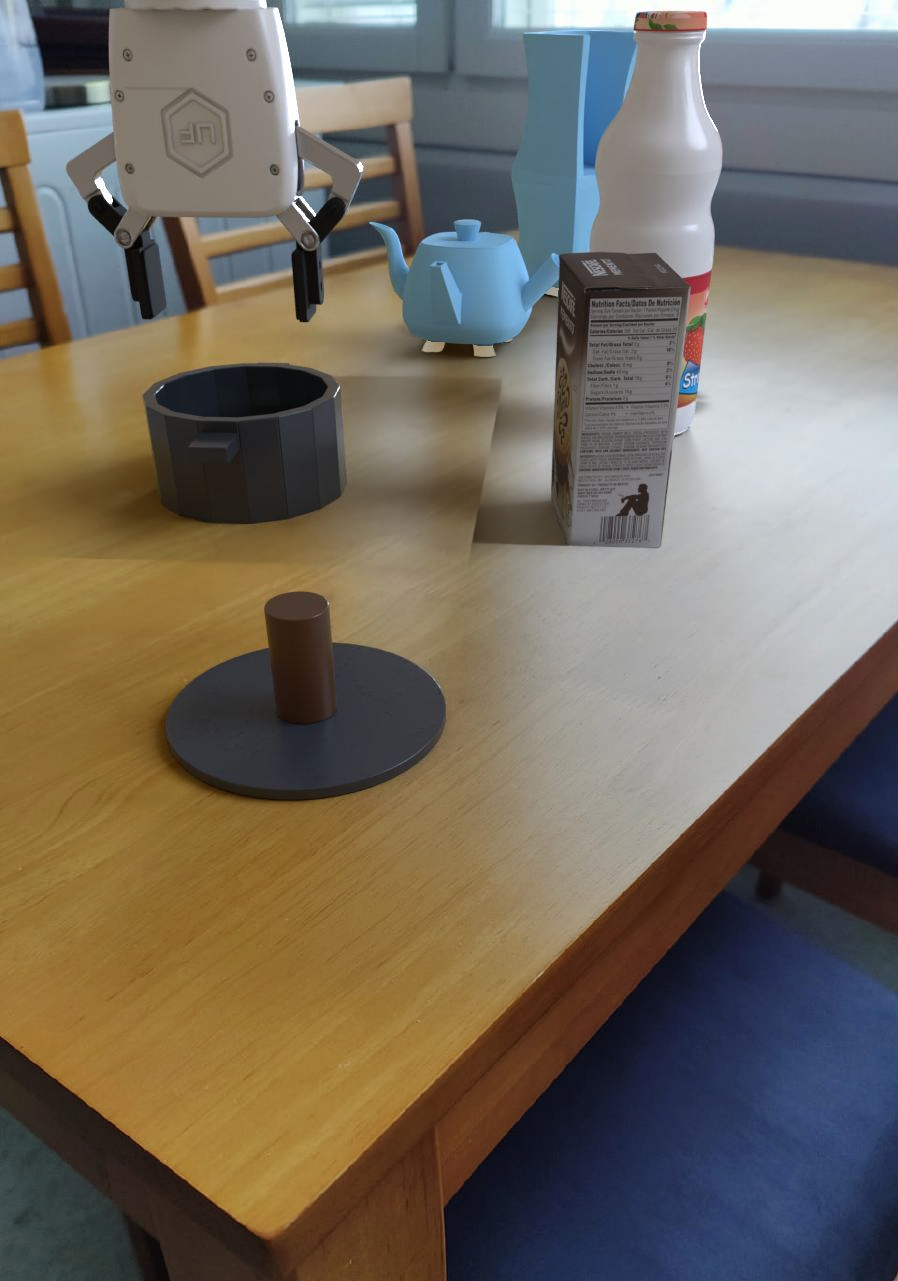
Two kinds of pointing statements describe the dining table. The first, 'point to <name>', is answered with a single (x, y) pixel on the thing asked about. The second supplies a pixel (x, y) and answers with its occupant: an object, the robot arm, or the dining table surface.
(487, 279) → the teapot
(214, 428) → the pot
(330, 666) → the lid
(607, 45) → the vase
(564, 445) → the coffee box
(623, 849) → the dining table surface
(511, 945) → the dining table surface
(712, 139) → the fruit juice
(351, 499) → the dining table surface
